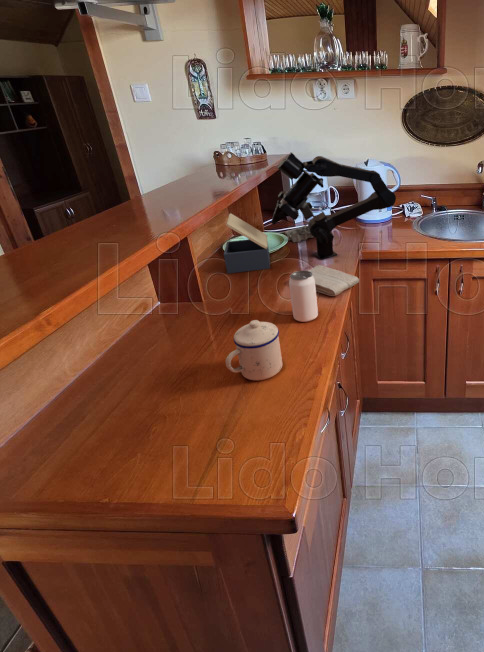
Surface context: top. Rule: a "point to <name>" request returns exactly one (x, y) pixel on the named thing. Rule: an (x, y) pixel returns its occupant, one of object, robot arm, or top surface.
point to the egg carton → (299, 234)
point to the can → (303, 296)
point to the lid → (247, 230)
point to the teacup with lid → (257, 351)
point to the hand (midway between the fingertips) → (272, 223)
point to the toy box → (245, 256)
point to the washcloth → (332, 280)
